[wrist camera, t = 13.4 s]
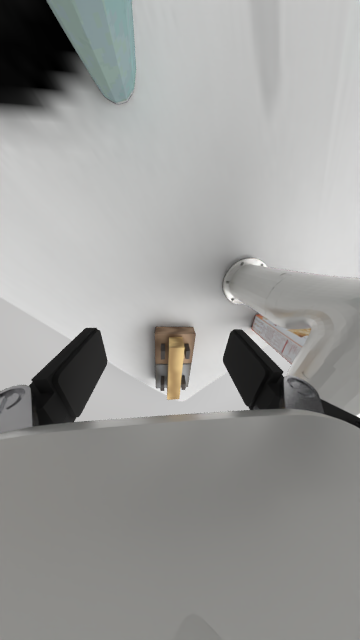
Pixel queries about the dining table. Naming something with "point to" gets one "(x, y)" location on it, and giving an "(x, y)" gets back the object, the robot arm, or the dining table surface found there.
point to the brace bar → (175, 367)
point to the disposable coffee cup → (102, 42)
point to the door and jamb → (163, 348)
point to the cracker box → (281, 337)
